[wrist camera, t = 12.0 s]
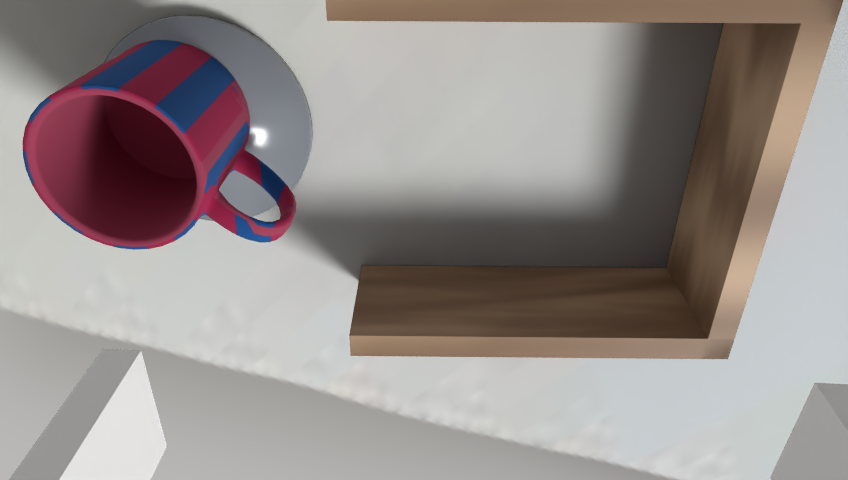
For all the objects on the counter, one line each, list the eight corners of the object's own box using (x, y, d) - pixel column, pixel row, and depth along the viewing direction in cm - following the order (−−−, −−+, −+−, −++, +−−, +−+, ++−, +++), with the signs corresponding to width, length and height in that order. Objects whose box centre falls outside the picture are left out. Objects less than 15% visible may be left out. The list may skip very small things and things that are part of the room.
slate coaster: (75, 14, 28) (68, 16, 27) (302, 15, 28) (300, 18, 27) (128, 214, 33) (123, 220, 32) (320, 216, 33) (318, 221, 32)
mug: (144, 6, 27) (64, 44, 21) (337, 143, 30) (314, 210, 24) (80, 123, 30) (-5, 185, 24) (264, 238, 33) (227, 318, 27)
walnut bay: (344, -39, 27) (324, -17, 22) (766, -37, 27) (847, -14, 21) (362, 283, 35) (350, 355, 30) (683, 286, 35) (727, 359, 30)
